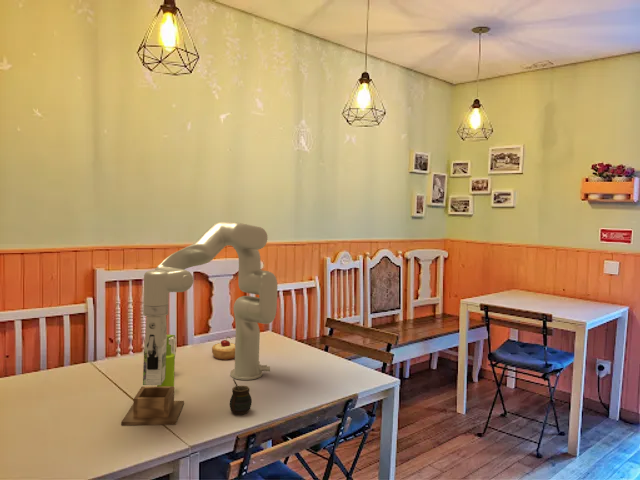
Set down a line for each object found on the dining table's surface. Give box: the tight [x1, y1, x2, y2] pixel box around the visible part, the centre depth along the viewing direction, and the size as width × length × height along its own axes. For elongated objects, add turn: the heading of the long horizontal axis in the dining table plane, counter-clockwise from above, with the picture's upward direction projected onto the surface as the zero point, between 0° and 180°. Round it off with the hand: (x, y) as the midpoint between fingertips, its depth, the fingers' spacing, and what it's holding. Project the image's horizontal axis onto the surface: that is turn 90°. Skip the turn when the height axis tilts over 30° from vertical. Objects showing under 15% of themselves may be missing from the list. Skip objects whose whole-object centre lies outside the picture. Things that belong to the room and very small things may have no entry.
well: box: [120, 385, 185, 426], centre depth 158 cm, size 16×16×7 cm
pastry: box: [211, 336, 235, 361], centre depth 219 cm, size 12×12×9 cm
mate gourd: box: [229, 378, 252, 416], centre depth 162 cm, size 7×8×10 cm
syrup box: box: [142, 337, 167, 386], centre depth 157 cm, size 6×6×14 cm
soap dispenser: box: [156, 334, 176, 387], centre depth 177 cm, size 6×7×20 cm
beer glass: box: [169, 335, 177, 376], centre depth 193 cm, size 7×7×15 cm
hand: (154, 365), depth 157 cm, fingers closed on syrup box, 5 cm apart
